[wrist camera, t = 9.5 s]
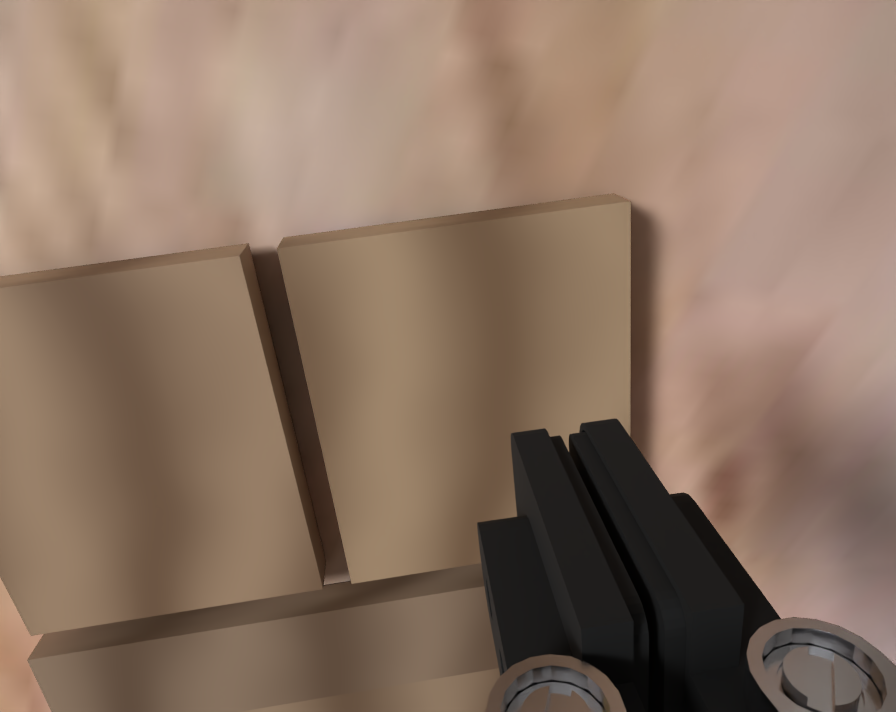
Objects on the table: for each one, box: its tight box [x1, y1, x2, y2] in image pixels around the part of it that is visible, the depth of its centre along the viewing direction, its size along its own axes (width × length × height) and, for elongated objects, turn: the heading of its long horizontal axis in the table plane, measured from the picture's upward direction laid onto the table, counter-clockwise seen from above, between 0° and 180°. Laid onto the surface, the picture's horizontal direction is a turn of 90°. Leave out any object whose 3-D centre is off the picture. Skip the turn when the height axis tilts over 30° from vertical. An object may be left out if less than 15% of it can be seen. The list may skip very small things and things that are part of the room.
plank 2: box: [277, 194, 631, 584], centre depth 21 cm, size 10×12×1 cm
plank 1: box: [0, 243, 326, 636], centre depth 20 cm, size 10×12×1 cm
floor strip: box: [27, 563, 500, 712], centre depth 25 cm, size 22×8×1 cm, turn 97°
